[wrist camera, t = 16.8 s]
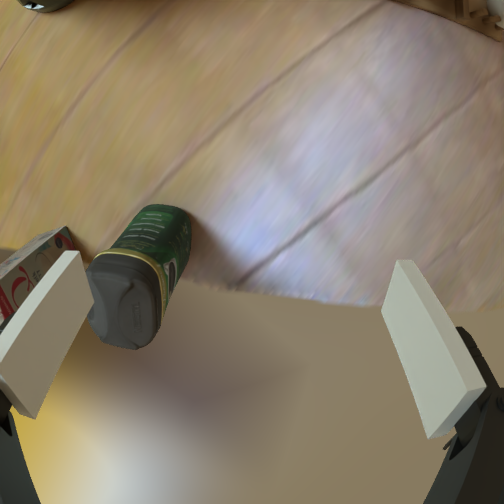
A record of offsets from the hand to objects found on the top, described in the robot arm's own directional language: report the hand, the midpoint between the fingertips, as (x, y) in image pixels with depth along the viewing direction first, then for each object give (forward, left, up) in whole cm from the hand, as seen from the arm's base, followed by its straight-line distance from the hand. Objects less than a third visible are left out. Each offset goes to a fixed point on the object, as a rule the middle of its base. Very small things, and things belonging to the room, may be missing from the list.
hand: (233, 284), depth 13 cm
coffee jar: (+5, -15, -29) cm, 33 cm away
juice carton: (0, -33, -29) cm, 44 cm away
